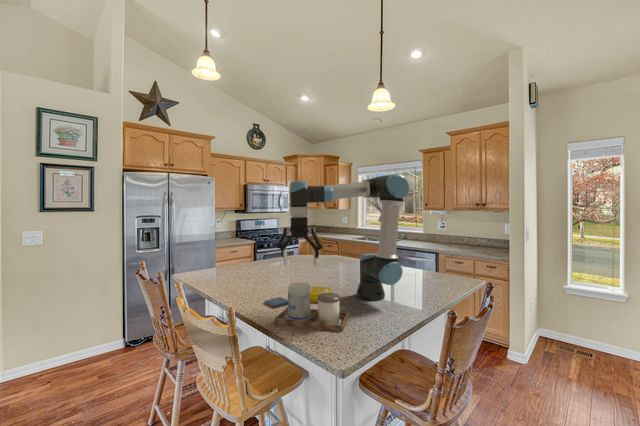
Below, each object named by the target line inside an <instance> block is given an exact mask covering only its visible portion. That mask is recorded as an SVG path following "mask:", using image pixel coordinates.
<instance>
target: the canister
mask: <svg viewBox="0 0 640 426" xmlns="http://www.w3.org/2000/svg"><path fill="white" fill-rule="evenodd" d="M317 299H318V303H317V309H318V316H317V319H318V322H319V323H328V324H339V319H340V317H339V312H340V301H341V295H340V294H337V293H335V292H331V293H322V294H319V295H318V296H317Z"/></svg>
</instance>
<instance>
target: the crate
mask: <svg viewBox="0 0 640 426" xmlns="http://www.w3.org/2000/svg"><path fill="white" fill-rule="evenodd" d="M340 318H343V320H341V319H340ZM349 318H350V312H348V311H339V324H328V323H319V322H318V308H317V309H316V308H310V318H309V320H308V321H301V320H292V319H288V306H287V307H286V308H285V309H283V310H282V311H281V312H280V313H279V314H278V315H277V316H276V317H275V318H274V326H275V327H276V326H277V325H283V326H291V327H298V328H299V327H300V328H306V329H307V328H309V329H316V330H324V331H325V330H326V331H335V332H343V331H344V329H345V327H346V325H347V323H348V320H349ZM315 319H316V320H315Z"/></svg>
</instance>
